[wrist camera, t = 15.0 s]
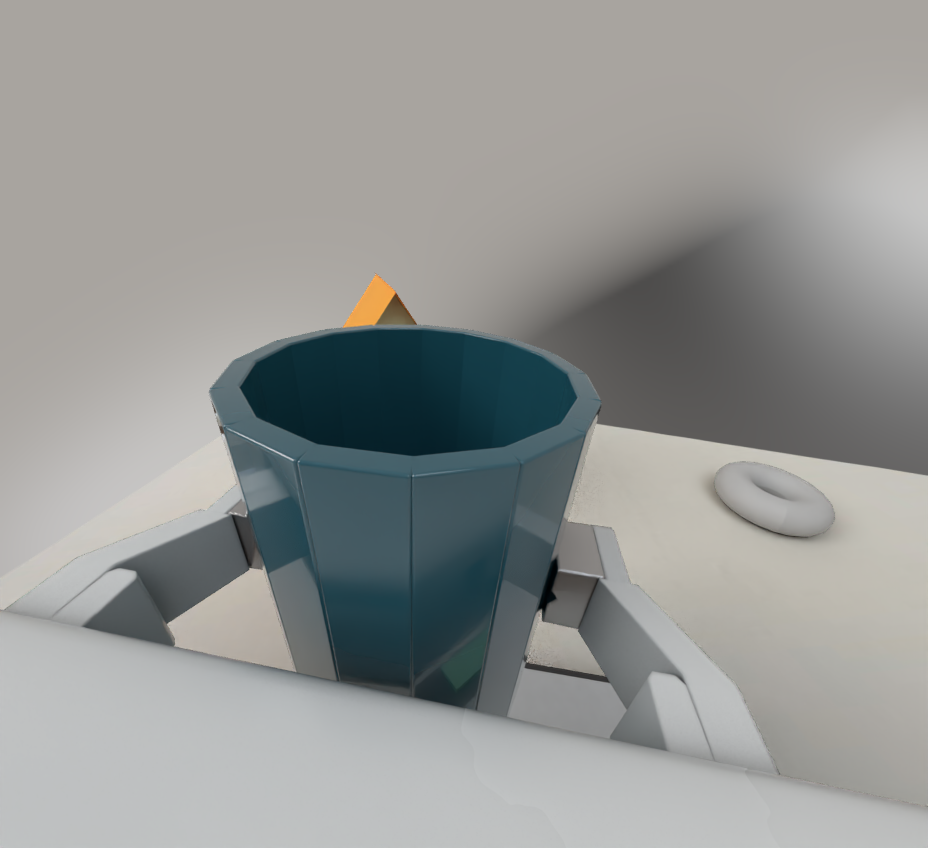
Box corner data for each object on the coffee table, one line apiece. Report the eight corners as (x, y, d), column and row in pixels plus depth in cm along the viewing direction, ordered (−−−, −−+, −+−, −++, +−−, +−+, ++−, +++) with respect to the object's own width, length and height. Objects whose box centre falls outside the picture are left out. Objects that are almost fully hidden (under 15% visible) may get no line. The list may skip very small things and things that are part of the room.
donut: (783, 487, 41) (694, 472, 42) (799, 464, 40) (706, 448, 41) (848, 554, 33) (734, 532, 34) (873, 528, 31) (752, 505, 32)
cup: (516, 824, 8) (663, 507, 4) (260, 776, 9) (71, 432, 4) (513, 587, 14) (567, 338, 9) (357, 564, 14) (329, 314, 9)
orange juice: (354, 533, 30) (328, 288, 21) (346, 473, 37) (324, 270, 28) (441, 515, 33) (454, 291, 23) (418, 462, 40) (421, 274, 30)
